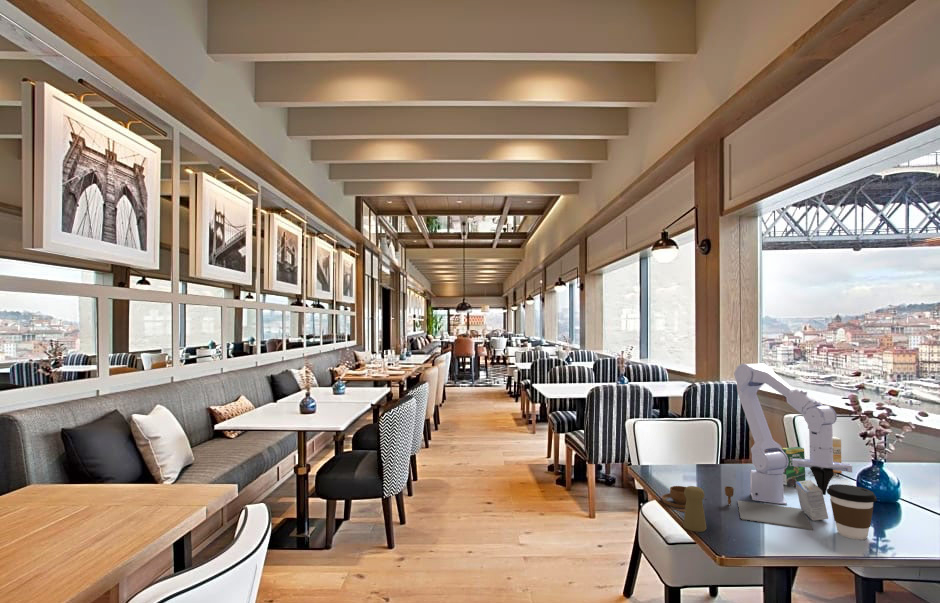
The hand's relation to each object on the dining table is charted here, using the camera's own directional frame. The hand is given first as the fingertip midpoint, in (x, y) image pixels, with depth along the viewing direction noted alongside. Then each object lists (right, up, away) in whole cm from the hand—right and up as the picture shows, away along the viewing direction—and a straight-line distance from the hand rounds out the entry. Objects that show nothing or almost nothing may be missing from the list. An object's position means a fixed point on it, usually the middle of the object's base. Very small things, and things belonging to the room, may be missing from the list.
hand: (822, 493), depth 151 cm
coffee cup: (-1, -7, -13) cm, 14 cm away
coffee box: (+11, -9, +31) cm, 34 cm away
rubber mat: (-13, -7, +2) cm, 15 cm away
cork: (-41, -7, -8) cm, 42 cm away
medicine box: (-2, -7, 0) cm, 7 cm away
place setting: (-33, -8, +10) cm, 35 cm away
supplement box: (+36, -10, +49) cm, 62 cm away
